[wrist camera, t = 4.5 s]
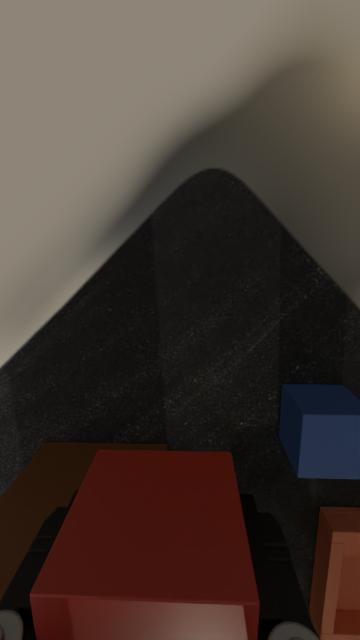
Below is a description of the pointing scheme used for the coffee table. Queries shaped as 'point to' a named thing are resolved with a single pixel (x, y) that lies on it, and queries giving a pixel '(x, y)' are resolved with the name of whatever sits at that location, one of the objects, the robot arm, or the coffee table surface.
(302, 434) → the blue block
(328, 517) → the red tray
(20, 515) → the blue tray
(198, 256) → the coffee table surface
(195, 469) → the red block
